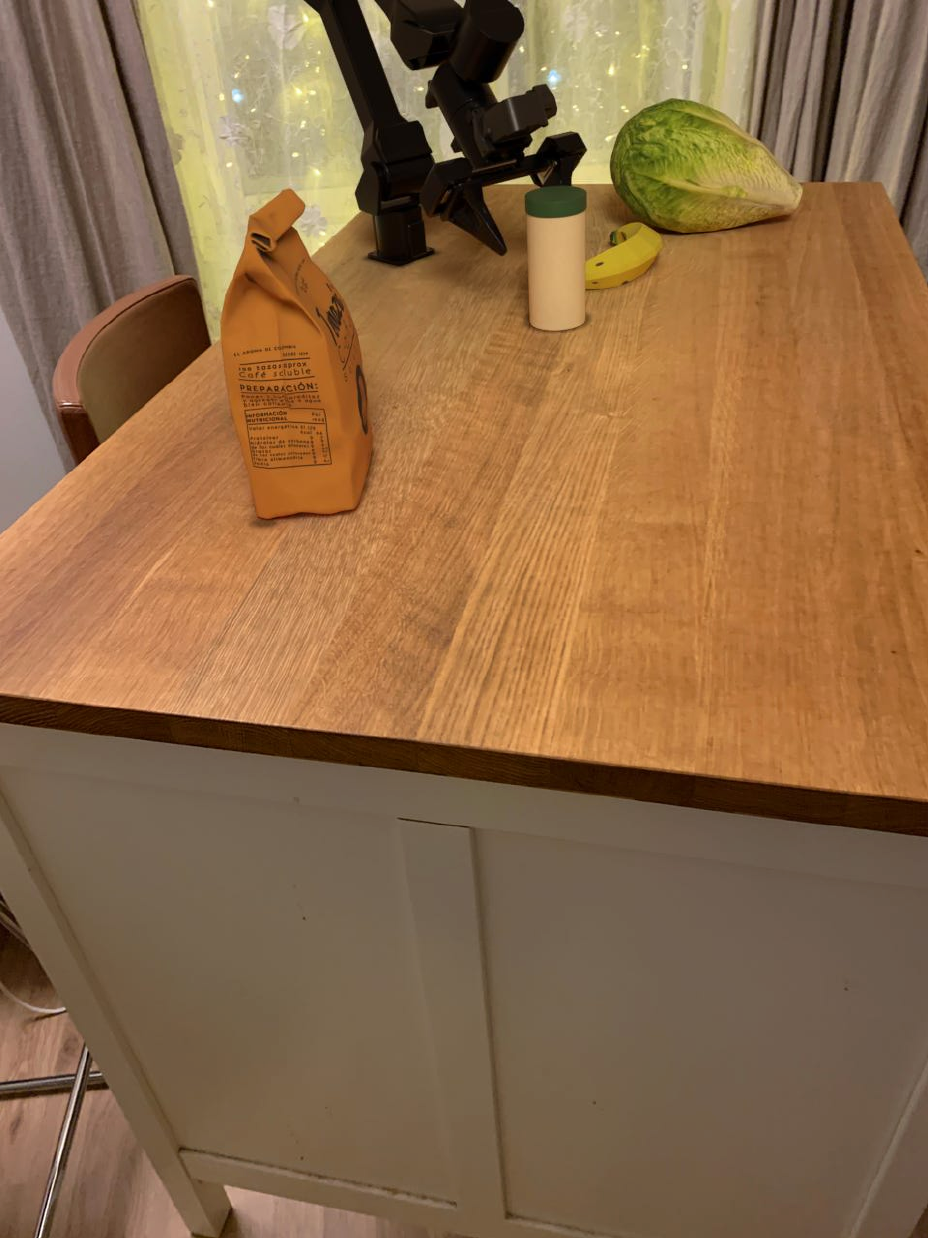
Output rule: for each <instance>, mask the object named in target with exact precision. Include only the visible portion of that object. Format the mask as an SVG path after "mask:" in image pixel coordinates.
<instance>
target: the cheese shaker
mask: <svg viewBox="0 0 928 1238" xmlns="http://www.w3.org/2000/svg"><path fill="white" fill-rule="evenodd" d="M587 195H588V193H587V191H586V189H584V188H583V187H579V186H574V185H572V186H548V187H542V188H541V187H537V188H534V189H531V190H529V191H527V192H526V193H525V194H524V213H525V218H526V221H525V222H526V225H525V226H526V251H527V252H526V253H527V279H528V281H527V283H528V284H527V285H528V311H529V314H528V315H529V324H530V325H531V326H533V327H534V328H536V329H537V330H543V331H548V332H549V331H550V332H552V331H553V332H555V331H556V332H557V331H559V332H560V331H567V330H571V329H575V328H577V327H580V326H582V325H583V324H584V323H585V322H586V289H585V261H586V236H587V235H586V230H587V229H586V228H587V227H586V225H587V224H586V223H587V222H586V218H587V217H586V216H587V215H586V214H587V213H586V212H587V211H586V210H587V200H588V199H587V197H588V196H587Z"/></svg>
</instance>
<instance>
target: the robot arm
mask: <svg viewBox="0 0 928 1238" xmlns="http://www.w3.org/2000/svg"><path fill="white" fill-rule="evenodd" d="M303 1H304V2H305V3H306V4H307V5H308V6H309V7H311V9H313V10H314V12H316V13H317V14H318V16H319V17H320V19H321V23H322V25H323V28H324V30H325V33H326V36H327V38H328V40H329V41H328V42H329V44H330V46H331V49H332V51H333V54H334V57H335V59H336V62H337V65H338V67H339V71H340V73H341V76H342V78H343V80H344V83H345V86H346V88H347V91H348V94H349V97H350V99H351V101H352V104H353V107H354V109H355V113H356V115H357V117H358V120H359V123H360V125H361V128H362V132H363V138H362V144H361V150H360V163H361V166H362V169H363V170H362V172H361V175H360V178H359V180H358V183H357V185H356V188H355V190H354V197H355V200H356V205H357V207H358V210H359V211H361V212H363V213H366V214H369V215H371V216H372V225H373V233H374V240H375V241H374V243H375V250H372V251H370V252H368V253H367V257H368V258H369V259H373V260H376V261H380V262H384V263H388V264H392V265H396V266H402V265H405V264H408V263H410V262H413V261H415V260H418V259H421V258H425V257H427V256H429V255H432V254H434V253H435V251H436V249H435V248H434V247H431V246H427V235H426V228H425V227H426V226H425V220H424V219H423V218H424V217H423V211H424V213H425V215H426V217H427V218H429V219H433V218H437V217H438V218H439V220H440V221H441V222H442V223H445V222H448V223H451V224H452V225H454V226H456V227H457V228H459V229H461V230H462V231H463V232H465V233H467V234H469V235H470V236H471V237H473V238H475V239H476V240H478V241H479V242H480V243H482V244H483V245H485V247H487V248H488V249H490V250H491V251H492V252H494V253H495V254H496V255H498V256H500V257H504V256H506V254H507V253H508V247H507V245H506V243H505V242H506V241H505V240H504V237H503V234H502V233H501V231H500V229H499V227H498V225H497V223H496V220H495V219H494V217H493V215H492V213H491V211H490V209H489V207H488V205H487V203H486V202H485V198H484V191H483V190H484V189H483V188H486V187H490V186H495V185H498V184H501V183H506V182H510V181H514V180H517V179H521V178H525V177H529V178H530V179H531V181H532V183H533V185H535V186H536V187H538V188H542V187H548V186H573V173H574V171H575V170H576V168H577V167H578V166H579V164H580V163H581V160H582V159H583V157H584V156H585V154H586V153H587V152H588V148H587V146H586V144H585V142H584V141H583V138H582V137H581V134H580V133H579V132H577V131H571V130H569V131H564V132H561V133H557V134H553V135H548V136H545V138H544V139H543V141H542V143H540V144H541V145H540V146H539V148H538V149H537V150H536V152H535V153H533V154H528V155H526V153H525V152H524V151H525V149H527V148H529V147H530V146H531V145H532V143H533V141H534V138H533V137H532V134H533V133H535V132H536V131H538V130H540V129H541V128H547V127H548V126H549V125H550V124H549V120H550V119H552V118H553V117H555V116H557V113H558V105H557V101H556V98H555V95H554V94H553V91H551V89H550V88H549V85H548V84H547V83H541V84H536V85H533V86H532V87H531V89H528V90H526V91H525V93H523V94H519V95H513V96H510V97H507V98H504V99H503V100H500V101H499V100H498V99H497V97H496V95H495V93H494V91H493V89H492V87H491V86H490V85H491V83H492V84H493V83H494V82H496V81H498V79H499V78H500V77H501V76H502V74H503V72H504V71H505V68H506V67H507V64H508V63H509V60H510V59H511V57H512V55H513V53H514V51H515V49H516V47H517V45H518V43H519V42H520V40H521V37H522V35H523V34H524V31H525V19H524V15H523V13H522V11H521V10H520V8H519V7H517V6H515V5H514V4H513V3H512V2H511V1H510V0H464V4H463V6H461V4H460V3H459V2H457V1H456V0H373V1H374V3H376V5H377V6H378V8H380V10H381V11H382V13H383V14H384V15H385V17H386V18H387V20H388V22H389V24H390V26H389V27H390V28H389V39H390V42H391V44H392V45H393V47H394V49H395V50H396V52H397V54H398V56H399V58H400V60H401V61H402V63H403V64H404V65H405V67H406V68H408V69H409V71H412V72H413V71H414V72H415V71H421V70H428V69H432V68H436V69H435V71H434V74H433V76H432V77H431V79H429V80H428V81H427V91H426V93H425V97H424V107H425V108H426V109H427V110H430V109H436V108H439V110H440V113H441V114H442V117H443V118H444V121H445V122H446V124H447V127H448V128H449V130H450V132H451V134H452V136H453V139H452V141H451V143H450V145H449V146H450V148H451V150H452V153H453V154H457V153H462V155H463V156H460V157H455V158H452V159H447V160H443V161H438V162H436V160H435V158H434V155H433V152H434V150H433V149H432V148H431V146H430V144H429V142H428V140H427V136H426V133H425V130H424V129H425V128H424V126H423V125H422V123H421V122H420V121H419V120H418V119H414V120H410V121H409V120H407V118H406V117H404V116H403V115H402V114H401V112H400V110H399V107H398V104H397V102H396V99H395V96H394V93H393V91H392V88H391V86H390V83H389V80H388V78H387V74H386V72H385V69H384V66H383V64H382V61H381V59H380V55H379V52H378V50H377V48H376V45H375V43H374V40H373V37H372V34H371V31H370V28H369V26H368V23H367V21H366V18H365V16H364V12H363V9H362V7H361V5H360V1H359V0H303ZM422 209H423V210H422Z"/></svg>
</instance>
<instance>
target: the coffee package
mask: <svg viewBox="0 0 928 1238" xmlns="http://www.w3.org/2000/svg"><path fill="white" fill-rule="evenodd" d="M305 210H306V203H305V202H304V200H303V199H302V198H301V197H300V196H299V195H298V194H297V192H295V191H294V190H293V189H292V188H285V189H282V190H281V191H280V193H278V194H277V195H276V196H275V197H274V198H272V199H271V200H269V201H268V202H267V203H265V204H264V205H263V206H262V207H260V208H259V209H258V210H257V211H256V212H254V213H252V214H249V216H248V220H247V231H246V234H245V239H244V245H243V249H242V252H241V254H240V256H239V258H238V259H239V260H238V262H237V263H236V266H235V269H234V272H233V275H232V279H231V280H230V283H229V285H228V288H227V290H226V292H225V295H224V301H223V305H222V311H221V316H220V321H219V322H220V324H219V325H220V340H221V341H220V343H221V352H222V361H223V369H224V377H225V383H226V389H227V394H228V400H229V401H228V402H229V407H230V414H231V418H232V421H233V424H234V425H233V426H234V428H235V431H236V434H237V438H238V441H239V445H240V451H241V454H242V458H243V462H244V465H245V469H246V471H247V474H248V475H247V476H248V480H249V483H250V488H251V494H252V497H253V503H254V509H255V514H256V516H257V517H259V518H261V519H265V520H271V519H274V518H280V517H286V516H290V515H295V514H298V513H310V514H321V515H332V514H336V513H339V512H343V511H350V510H354V509H356V508H357V506H358V504H359V502H360V500H361V497H362V494H363V490H364V487H365V483H366V480H367V475H368V472H369V468H370V462H371V456H372V452H373V445H374V434H373V430H372V425H371V421H370V420H371V419H370V412H369V399H368V388H367V387H368V386H367V382H366V381H367V380H366V377H365V373H364V365H363V356H362V351H361V350H362V349H361V345H360V340H359V334H358V331H357V328H356V327H355V323H354V321H353V318H352V315H351V313H350V310H349V307H348V305H347V304H346V301H345V299H344V297H343V296H342V295H341V293H340V292H339V291H338V289H337V288H336V286H335V285H334V283H333V282H332V281H331V280H330V279H329V277H328V276H327V275H326V273H325V272H324V271H323V270H322V269H321V268H320V267H319V265H317V264H316V263H315V261H313V259H312V258H311V256H310V254H309V251H308V249H307V247H306V245H305V243H304V241H303V239H302V238H301V235H300V234H299V232H298V230H297V228H295V227H293V225H295V223H296V222H297V220H298V219H300V218H301V217H302V216H303V214H304V212H305Z"/></svg>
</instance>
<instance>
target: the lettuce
mask: <svg viewBox="0 0 928 1238" xmlns="http://www.w3.org/2000/svg"><path fill="white" fill-rule="evenodd" d="M609 175H610V180H611V183H612V185H613V188H614V190H615V193H616V194H617V196H618V197H619V198H620V199H621V201H622V202H623V203H624V204H625V205H626V207H627V208H628V209H629V211H630V212H631V213H632V214H633V215H634V216H635V217H637V218H639V219H641V220H642V221H644V222H646V223H647V224H649V225H651V226H654V227H657V228H661V229H665V230H668V231H674V232H677V233H683V234H686V233H689V234H690V233H707V232H715V231H720V230H725V229H732V228H736V227H740V226H745V225H748V224H750V223H751V224H752V223H754V222H760V221H763V220H767V219H771V218H775V217H776V218H777V217H780V216H786V215H792V214H793V213H794V212H795V211H796V210H797V208H798V207H799V205H801V203H802V198H803V192H804V187H803V186H802V184H801V183H799V181H797V179H796V178H795V177H794V176H793V175H792V174H791V173H790V172H788V171H787V170H786V168H785V167H784V166H783V165H782V163H781V162H780V161H779V160H778V159H777V158H776V156H775V155H773V153H772V152H771V151H770V150H769V148H768V147H767V146H766V145H765V144H764V143H763V142H762V141H761V140H759V139H757V138H756V137H755V136H753V135H752V134H751V133H749V132H747V130H745V129H744V128H742V127H741V126H740V125H739V124H738V123H736V122H735V121H734V120H733V119H732V118H730V116H728V115H727V114H726V113H724V112H722V111H721V110H720V111H719V110H717V109H715V108H713V107H711V106H707V105H705V104H702V103H699V102H696V101H695V100H691V99H690V100H689V99H683V98H675V97H671V98H668V99H665V100H663V101H660V102H658V103H655V104H652V105H649V106H647V107H645V108H642V109H641V110H640V111H638V112H637V113H636V114H634V115H633V116H632V117H631V118H629V119H628V120H626V121H625V122H624V124H623V126H622V127H621V128H620V130H619V131H618V133H617V135H616V137H615V141H614V144H613V147H612V150H611V154H610V160H609Z"/></svg>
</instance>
